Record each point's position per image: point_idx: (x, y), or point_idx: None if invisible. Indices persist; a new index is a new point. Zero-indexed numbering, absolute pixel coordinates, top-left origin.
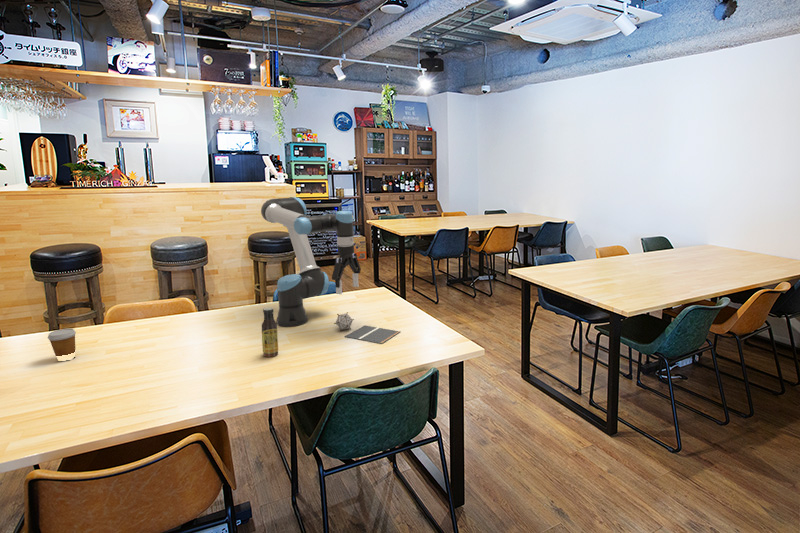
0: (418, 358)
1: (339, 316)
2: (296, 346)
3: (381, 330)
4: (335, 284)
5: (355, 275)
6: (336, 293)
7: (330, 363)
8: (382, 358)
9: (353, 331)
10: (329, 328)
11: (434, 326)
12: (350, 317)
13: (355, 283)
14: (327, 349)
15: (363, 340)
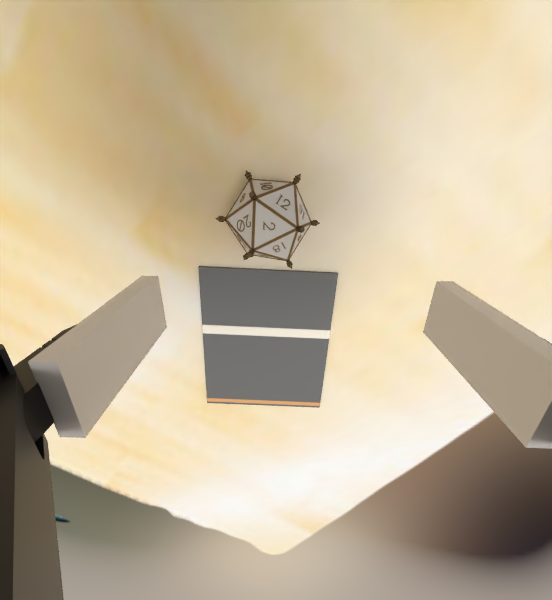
0: (176, 493)
1: (249, 209)
2: (7, 135)
3: (306, 355)
4: (44, 345)
5: (514, 399)
6: (141, 279)
7: (10, 346)
8: (128, 438)
9: (257, 270)
10: (255, 133)
11: (397, 460)
12: (290, 250)
13: (447, 328)
14: (74, 277)
15: (204, 343)
